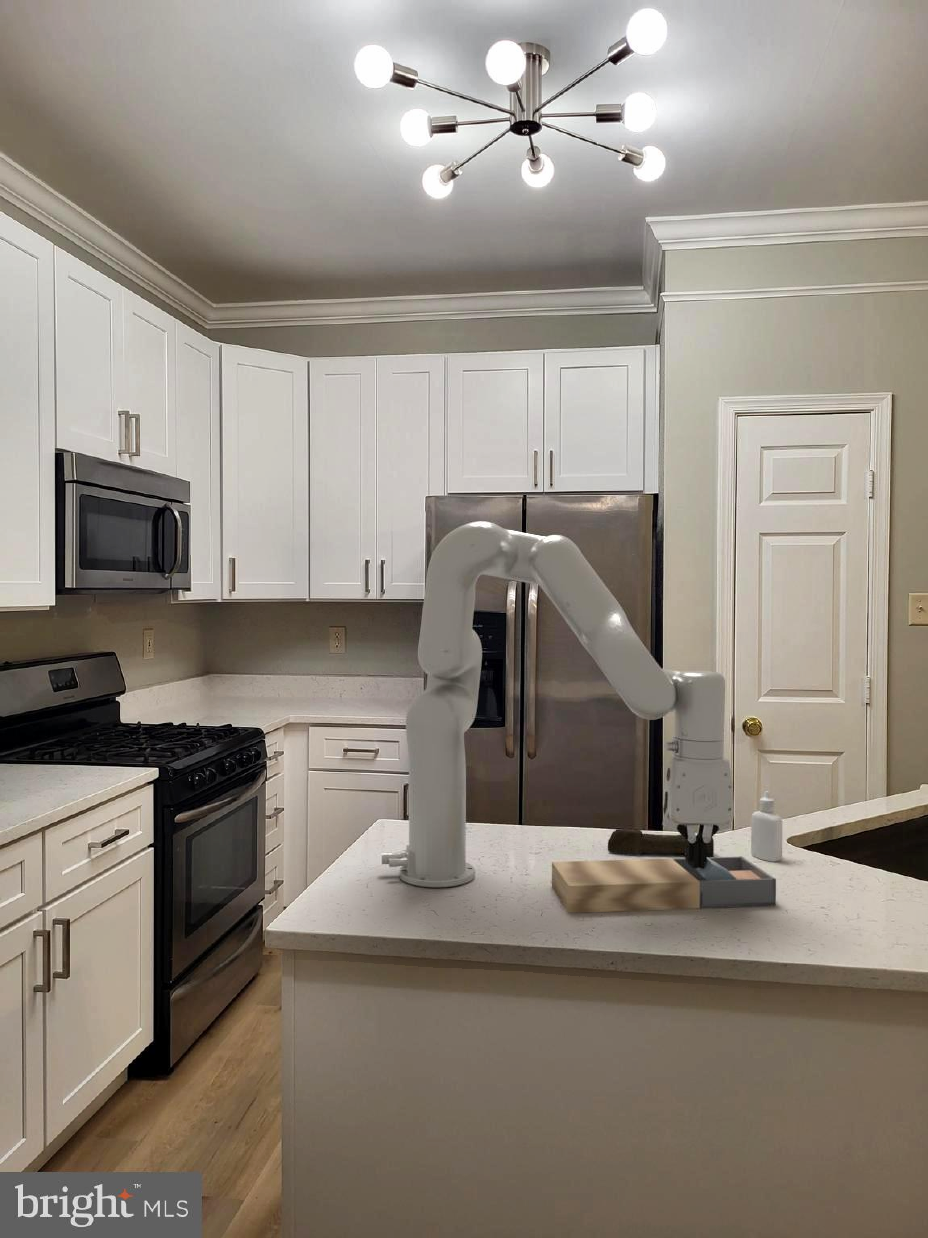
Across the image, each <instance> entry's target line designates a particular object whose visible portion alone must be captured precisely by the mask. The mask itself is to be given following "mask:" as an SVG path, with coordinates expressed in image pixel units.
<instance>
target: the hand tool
mask: <svg viewBox="0 0 928 1238" xmlns="http://www.w3.org/2000/svg"><path fill="white" fill-rule="evenodd" d="M713 837H714V836H712V837H711V840H710V842H709V843H707V856H708V857H714V851H715V849H714V847H715V842H714V838H713ZM607 841H608V842H607V851H608V852H609V853H613V854H618V855H630V856H640V855H641V854H647V853H649V854H650V853H652V854H653V853H654V854H655V853H656V854H657V853H658V854H678V855H679V854H680V855H685V838H684V837H683V836H682V835H681V834H675V835H674V834H673V835H672V834H653V833H652V834H651V833H643V832H642V830H641V829H626V828H621V829H620V828H616V829H615V830H614V831H612V833H611V835H610V837H609V838H608V840H607Z"/></svg>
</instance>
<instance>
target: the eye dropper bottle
mask: <svg viewBox="0 0 928 1238" xmlns="http://www.w3.org/2000/svg"><path fill="white" fill-rule="evenodd" d="M774 811H775V799H773V798H772V797H771V795H770V791H768V790H767V791H764V794H763V797H760V798H759V810H758V811H754V812H753V813H752V814H751V822H750V824H751V825H750V828H751V829H750V830H751V833H750V842H751V843H750V855H751V856H753V857H754V858H756V859H758V860H759V859H760V860H762V861H767V862H771V863H774V862H775V863H776V862H779V861H782V860H783V819H782V818H781V816H779V815H778V814H777V813H776V812H774Z"/></svg>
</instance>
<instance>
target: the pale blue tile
mask: <svg viewBox="0 0 928 1238" xmlns="http://www.w3.org/2000/svg"><path fill="white" fill-rule="evenodd" d="M708 857H709V856H707V861H704V868H699V867H698V868H697V869H696V870H697V871H698V872H699V873H700V874H701V875H702V876H703V877H704V878H705V879H707V880H736V878H735V877H734V876H733V875H732V874H731V873H730V872H729V871H728V870H727V869H726V868H724V867H722V866H721V865H719V864H718V863H716V862H714V861H713V860H711V859H709V858H708Z"/></svg>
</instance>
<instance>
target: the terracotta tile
mask: <svg viewBox="0 0 928 1238" xmlns="http://www.w3.org/2000/svg"><path fill="white" fill-rule="evenodd" d="M729 872H730V873H731V874H732V875H733V876H734V877H735V878H736V880H737V879H761V878H760V877H759V876H757V875H756V874H755V873H753V872H752V871H750V870H744V871H729Z"/></svg>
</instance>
